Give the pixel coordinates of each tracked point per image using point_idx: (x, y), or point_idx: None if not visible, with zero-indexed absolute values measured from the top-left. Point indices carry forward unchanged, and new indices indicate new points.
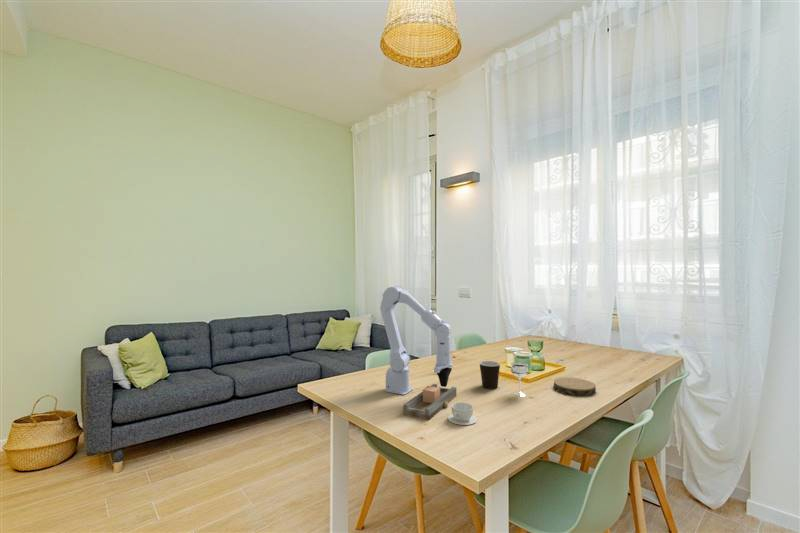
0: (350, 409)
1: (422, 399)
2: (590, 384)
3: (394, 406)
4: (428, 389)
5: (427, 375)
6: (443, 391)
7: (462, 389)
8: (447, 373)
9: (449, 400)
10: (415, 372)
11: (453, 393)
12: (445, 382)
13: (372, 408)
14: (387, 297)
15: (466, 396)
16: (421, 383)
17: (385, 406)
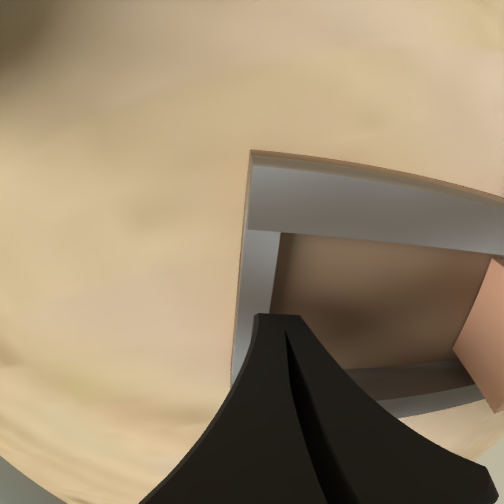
0: (475, 458)
1: None
2: None
3: (478, 408)
4: None
5: (4, 419)
6: (277, 302)
7: (33, 162)
8: (444, 466)
9: (446, 183)
10: (21, 452)
11: (360, 171)
12: (325, 355)
13: (480, 436)
14: None
15: (215, 43)
16: (113, 441)
17: (473, 425)
